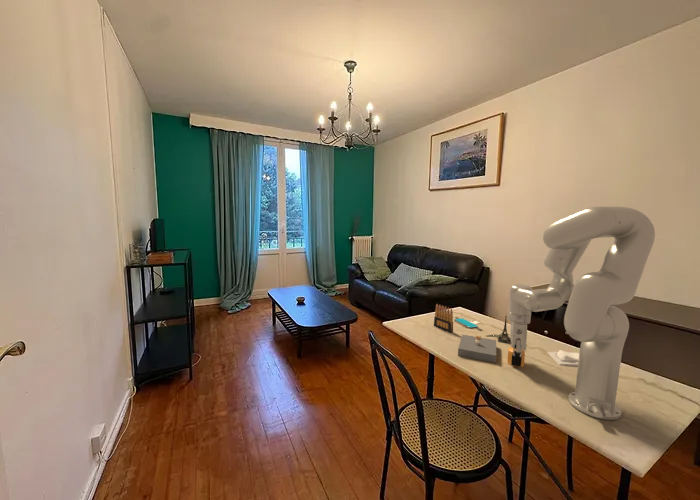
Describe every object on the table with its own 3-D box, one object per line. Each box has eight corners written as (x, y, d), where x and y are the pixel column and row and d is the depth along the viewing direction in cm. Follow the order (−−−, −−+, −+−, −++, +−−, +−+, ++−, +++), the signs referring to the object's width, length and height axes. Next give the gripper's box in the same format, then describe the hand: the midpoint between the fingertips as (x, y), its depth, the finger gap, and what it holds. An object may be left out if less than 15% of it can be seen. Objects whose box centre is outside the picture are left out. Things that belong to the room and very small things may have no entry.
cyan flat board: (492, 330, 155) (492, 326, 155) (472, 333, 151) (473, 329, 151) (465, 317, 174) (465, 314, 173) (447, 319, 170) (447, 316, 170)
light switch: (547, 346, 129) (581, 347, 127) (546, 355, 130) (581, 356, 127) (559, 358, 119) (597, 359, 116) (558, 368, 119) (596, 369, 117)
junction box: (495, 362, 120) (496, 346, 119) (457, 355, 126) (458, 340, 125) (495, 346, 135) (496, 332, 134) (461, 340, 140) (462, 326, 140)
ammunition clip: (433, 326, 158) (434, 303, 157) (436, 325, 160) (437, 302, 158) (450, 332, 150) (451, 309, 148) (453, 332, 151) (454, 308, 149)
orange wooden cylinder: (524, 368, 116) (525, 354, 116) (507, 365, 119) (508, 351, 118) (523, 361, 121) (524, 348, 121) (507, 358, 124) (508, 346, 123)
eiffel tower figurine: (528, 347, 136) (530, 317, 134) (510, 350, 132) (512, 320, 131) (501, 334, 150) (503, 307, 148) (484, 337, 146) (486, 309, 145)
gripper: (532, 326, 108) (528, 374, 111) (528, 312, 124) (524, 354, 126) (508, 322, 111) (505, 370, 114) (507, 309, 127) (504, 351, 129)
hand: (515, 361), depth 120 cm, fingers closed on orange wooden cylinder, 5 cm apart
